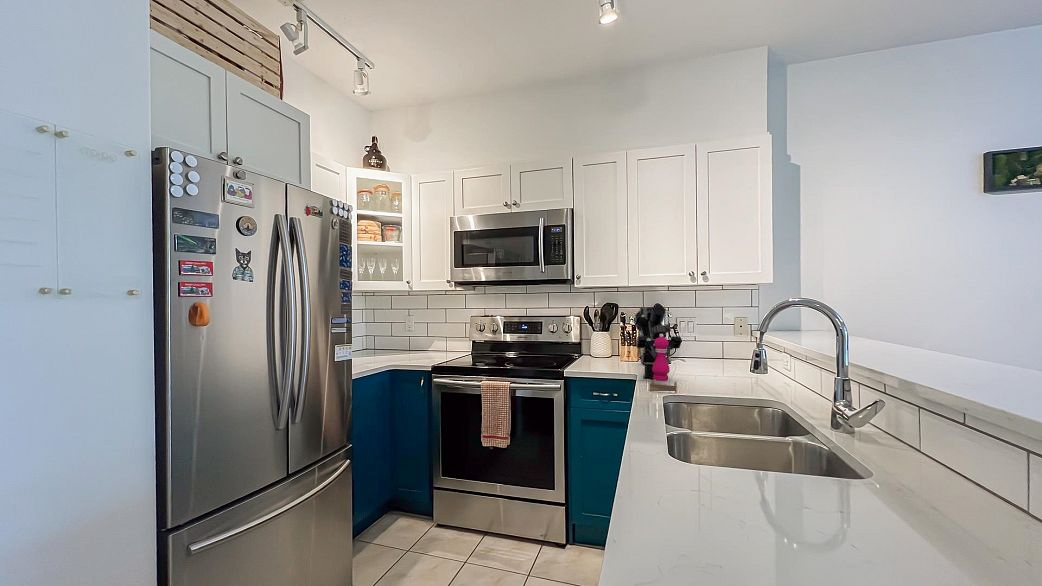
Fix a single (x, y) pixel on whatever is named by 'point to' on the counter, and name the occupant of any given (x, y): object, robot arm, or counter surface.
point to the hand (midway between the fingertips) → (661, 357)
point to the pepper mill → (661, 359)
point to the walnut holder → (662, 387)
